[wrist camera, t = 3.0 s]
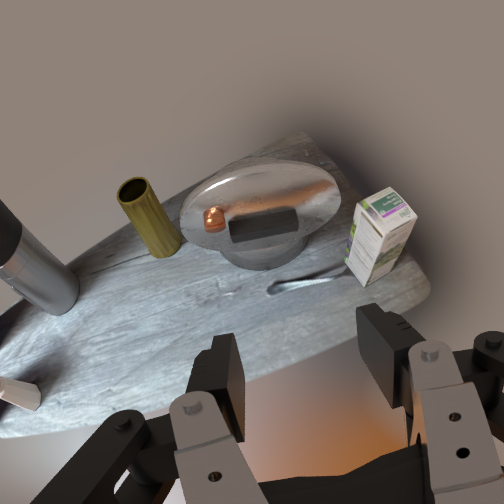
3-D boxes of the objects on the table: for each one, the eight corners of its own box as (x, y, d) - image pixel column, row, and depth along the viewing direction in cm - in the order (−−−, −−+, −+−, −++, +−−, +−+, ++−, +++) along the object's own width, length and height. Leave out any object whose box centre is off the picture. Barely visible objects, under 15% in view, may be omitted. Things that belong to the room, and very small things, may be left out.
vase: (167, 224, 58) (137, 168, 46) (188, 241, 55) (159, 184, 43) (143, 246, 56) (106, 194, 44) (162, 265, 53) (126, 213, 41)
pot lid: (201, 252, 43) (204, 272, 42) (155, 185, 27) (156, 213, 26) (328, 227, 42) (333, 246, 41) (349, 147, 26) (359, 173, 25)
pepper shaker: (38, 379, 44) (-5, 362, 35) (44, 408, 41) (-1, 394, 32) (20, 387, 43) (-23, 371, 34) (25, 414, 41) (-19, 402, 31)
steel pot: (219, 279, 50) (204, 249, 43) (211, 202, 59) (199, 168, 52) (320, 259, 50) (324, 225, 42) (297, 185, 58) (295, 148, 51)
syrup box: (371, 244, 50) (388, 182, 38) (392, 272, 47) (419, 214, 35) (342, 260, 49) (354, 199, 37) (364, 290, 46) (385, 234, 34)
